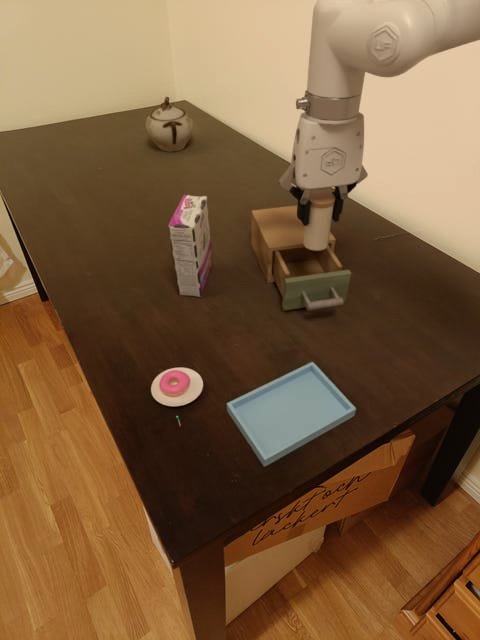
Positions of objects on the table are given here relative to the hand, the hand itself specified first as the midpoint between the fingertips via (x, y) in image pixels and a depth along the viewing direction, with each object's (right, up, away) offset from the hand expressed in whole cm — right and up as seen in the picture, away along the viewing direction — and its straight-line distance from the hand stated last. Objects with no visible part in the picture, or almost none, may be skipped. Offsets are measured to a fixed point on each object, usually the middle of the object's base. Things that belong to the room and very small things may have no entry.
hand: (318, 218), depth 72 cm
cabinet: (-3, -4, +22) cm, 22 cm away
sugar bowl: (-35, +39, +66) cm, 85 cm away
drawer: (0, -11, +12) cm, 17 cm away
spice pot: (0, -4, +3) cm, 5 cm away
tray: (-6, -31, -7) cm, 33 cm away
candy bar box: (-22, -9, +17) cm, 29 cm away
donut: (-23, -29, -4) cm, 37 cm away
